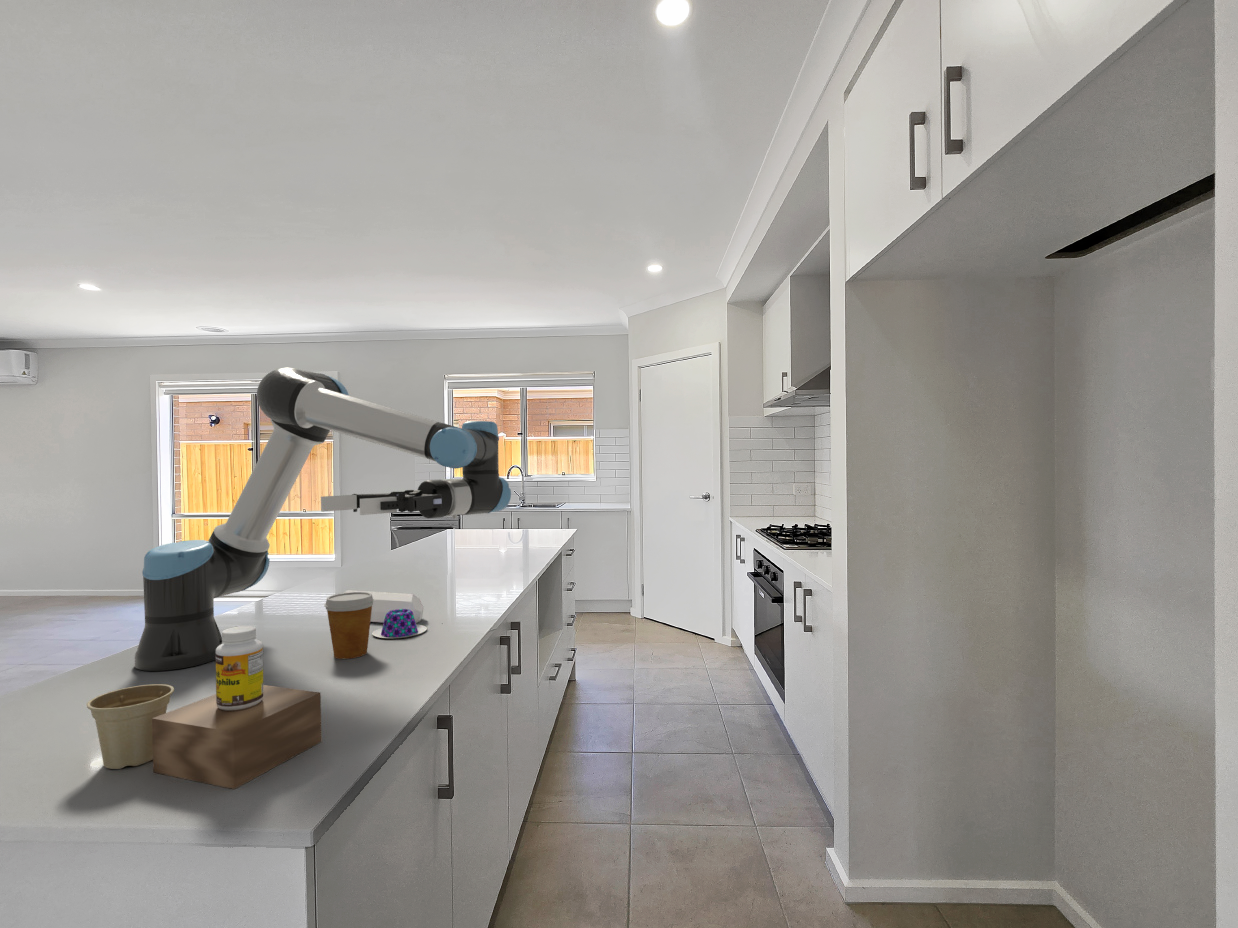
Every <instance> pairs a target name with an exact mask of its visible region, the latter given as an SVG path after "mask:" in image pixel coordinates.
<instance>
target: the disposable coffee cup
mask: <svg viewBox="0 0 1238 928" xmlns="http://www.w3.org/2000/svg"><path fill="white" fill-rule="evenodd" d="M373 602H374V599H373V597H372V594H371V593H368V592H349V593H344V592H343V593H335V594H332V595H329V596H327V597H326V601H325V602H324V605H323V606H324V607H325V610H326V612H327V618H328V625H329V631H330V632H329V633H330V638H331V644H332V651H333V657H334V658H336V659H339V660H341V659H342V660H348V659H356V658H359V657H362V656H365V655H366V654H367V653H368V648H369V647H368V646H369V639H370V638H369V637H370V636H369V635H370V629H371V622H370V620H371V611H372V605H373Z"/></svg>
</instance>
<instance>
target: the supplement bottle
mask: <svg viewBox="0 0 1238 928" xmlns="http://www.w3.org/2000/svg"><path fill="white" fill-rule="evenodd" d="M221 636H222V643H223V644H221V645H219V646H218V647H217V648H216V659H215V692H216V693H215V694H216V704H217V707H218V708H219V709H222V710H227V711H233V710H241V709H246V708H249V707H252V706H254V705H256V704H258V703H260V702H261V701H262V699H263V685H264V650H263V649H264V646H263V645H264V644H263V642H262V641H261V640H259V639H257V629H256V627H255V626H253V625H240V626H235V627H230V628H226V629H224V630H222V632H221Z"/></svg>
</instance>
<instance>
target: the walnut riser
mask: <svg viewBox="0 0 1238 928" xmlns="http://www.w3.org/2000/svg"><path fill="white" fill-rule="evenodd" d="M321 699H322V695H321V692H319V691H312V690H304V689H296V688H289V687H281V686H276V685H275V686H274V685H266V684H263V699H262V701H261V702H260V703H258V704H256V705H254V706H252V707H249V708H246V709H241V710H233V711H227V710H222V709H219V708H218V707H217V704H216V693H215V694H213V695H209V696H207V697H205V698H202V699H199V700H197V701H194V702H192V703H189V704H186V705H184V706H181V707H178V708H176V709H174V710H171V711H170V710H169V711H168V712H166V713H165V714H162V715H160V716H157V717H154V718H152V737H153V760H152V769H153V770H152V771H153V773H155V774H159V775H164V776H170V777H174V778H178V779H185V780H189V781H193V782H198V783H204V784H208V785H213V786H218V787H221V788H227V789H233V790H236V789H238V788H239V787H241V786H243V785H245V784H247V783H248V782H250V781H252V780H254V779H256V778H257V777H260V776H261V775H264V774H265V773H266V772H269V771H270V770H273V769H274V768H276V767H277V766H279V765H281V764H283V763H285V762H287V761H289V760H290V759H292V758H294V757H296V756H298V755H300V754H301V753H304V752H305V751H307V750H309V749H310V748H313V747H314V746H316V745H318V744H321V743H322V740H323V739H322V700H321Z"/></svg>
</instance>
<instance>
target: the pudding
mask: <svg viewBox="0 0 1238 928" xmlns="http://www.w3.org/2000/svg"><path fill="white" fill-rule="evenodd" d="M427 629H428V628H427V626H425V625H423V624H417V623H416V622H415V619H414V615H413V612H412V611H411V610H409V609H396V610H392V611H389V612H387V613H386V615H385V619H384V623H382V627H379V628H377V629H375V630H373V631H372V633H371V635H372V636H373V637H377V638H381V639H388V638H393V639H402V638H404V637H405V638H410V637H412V636H413V637H414V636H418V635H420V634H423V633H424V632H426V631H427Z"/></svg>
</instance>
